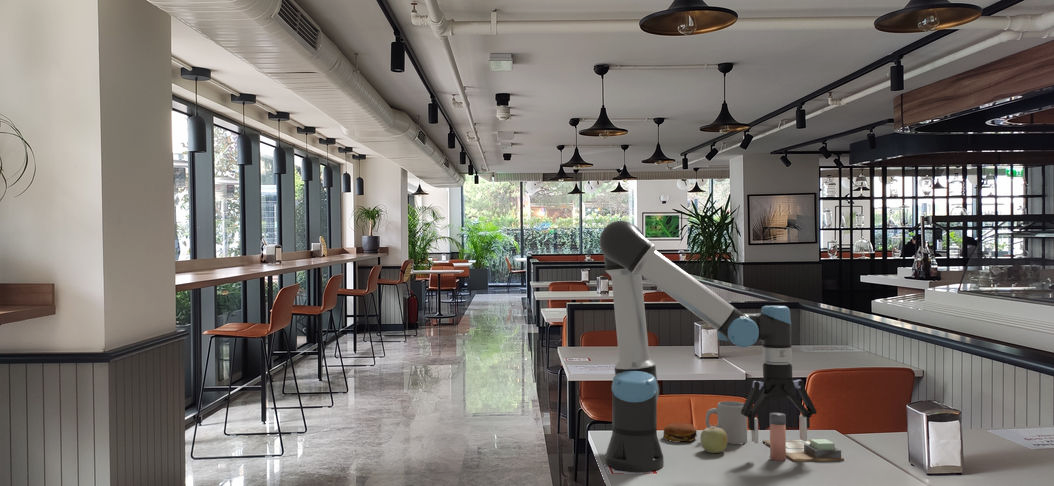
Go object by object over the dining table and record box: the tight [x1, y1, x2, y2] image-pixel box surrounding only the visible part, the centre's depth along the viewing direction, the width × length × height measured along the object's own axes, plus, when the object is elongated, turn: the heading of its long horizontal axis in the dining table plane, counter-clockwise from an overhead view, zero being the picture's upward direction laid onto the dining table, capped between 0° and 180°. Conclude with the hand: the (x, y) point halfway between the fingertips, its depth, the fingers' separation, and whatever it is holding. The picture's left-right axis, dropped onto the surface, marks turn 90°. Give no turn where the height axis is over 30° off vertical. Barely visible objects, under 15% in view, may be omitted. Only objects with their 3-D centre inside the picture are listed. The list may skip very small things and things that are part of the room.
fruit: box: [700, 423, 728, 454], centre depth 198 cm, size 8×7×8 cm
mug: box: [705, 400, 748, 445], centre depth 211 cm, size 12×8×11 cm
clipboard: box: [762, 439, 845, 463], centre depth 199 cm, size 14×20×3 cm
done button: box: [809, 438, 836, 450], centre depth 193 cm, size 5×5×2 cm
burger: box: [663, 422, 698, 442], centre depth 212 cm, size 10×9×5 cm
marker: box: [769, 412, 787, 462], centre depth 191 cm, size 4×4×12 cm
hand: (779, 441), depth 191 cm, fingers open, 13 cm apart
